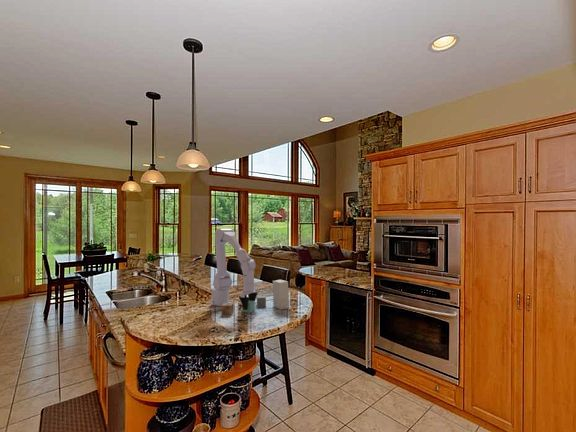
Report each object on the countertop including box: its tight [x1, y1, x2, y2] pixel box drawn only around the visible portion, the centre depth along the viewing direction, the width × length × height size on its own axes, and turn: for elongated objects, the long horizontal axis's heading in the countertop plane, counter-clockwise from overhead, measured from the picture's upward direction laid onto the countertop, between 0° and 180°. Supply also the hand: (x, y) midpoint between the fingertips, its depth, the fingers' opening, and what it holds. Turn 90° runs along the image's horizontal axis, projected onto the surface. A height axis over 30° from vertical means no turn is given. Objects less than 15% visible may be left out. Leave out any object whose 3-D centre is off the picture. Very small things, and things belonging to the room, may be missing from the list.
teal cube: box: [241, 300, 256, 314], centre depth 161 cm, size 5×5×5 cm
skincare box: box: [272, 279, 290, 310], centre depth 167 cm, size 8×6×15 cm
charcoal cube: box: [256, 295, 267, 308], centre depth 171 cm, size 5×5×5 cm
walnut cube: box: [221, 302, 235, 316], centre depth 156 cm, size 5×5×5 cm
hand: (248, 307), depth 161 cm, fingers open, 7 cm apart
